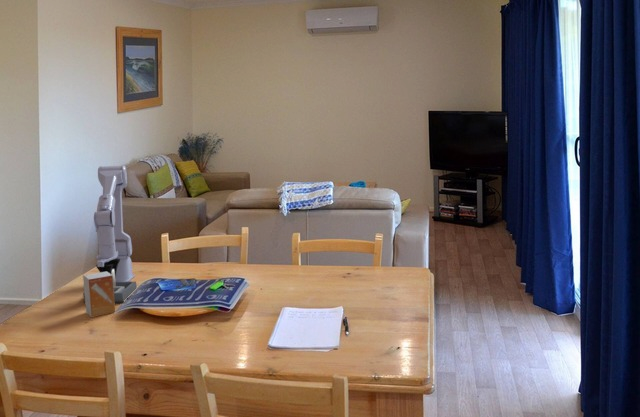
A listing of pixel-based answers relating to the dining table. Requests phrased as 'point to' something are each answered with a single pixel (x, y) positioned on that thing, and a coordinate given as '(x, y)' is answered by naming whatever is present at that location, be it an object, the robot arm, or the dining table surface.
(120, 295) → the walled box
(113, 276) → the bottle
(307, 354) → the dining table surface
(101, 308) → the small box
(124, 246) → the robot arm
